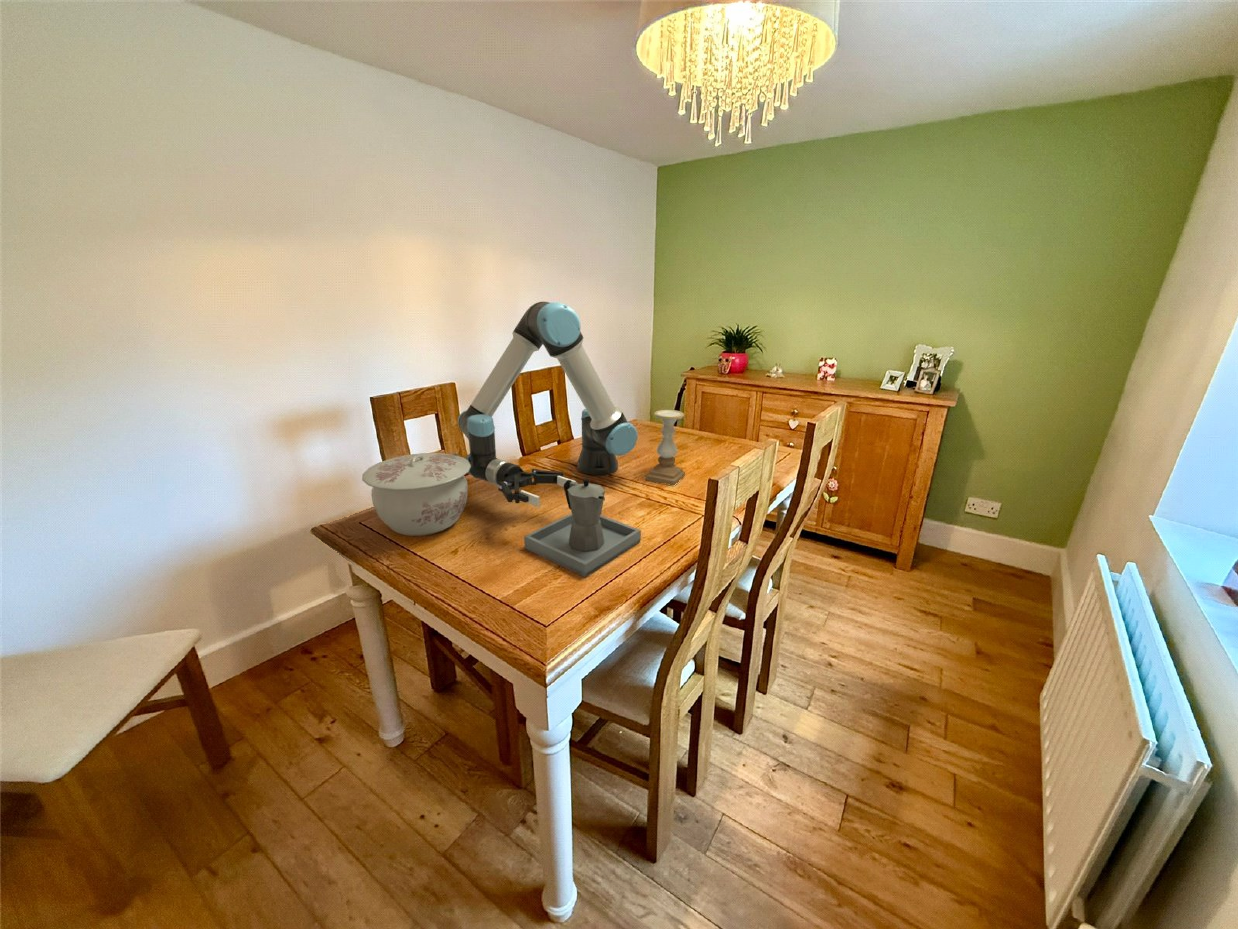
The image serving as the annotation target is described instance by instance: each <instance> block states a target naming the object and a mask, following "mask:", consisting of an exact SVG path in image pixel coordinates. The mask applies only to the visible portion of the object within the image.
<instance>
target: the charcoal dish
mask: <svg viewBox="0 0 1238 929" xmlns="http://www.w3.org/2000/svg"><path fill="white" fill-rule="evenodd" d="M599 519H600V521H601V526H602V532H603V537H604V543H603V545H602V546H601V547H600V548H599V549H597V550H594V551H578V550H575V549H573V548H572V547H571V545H570V543H569V537H570V531H571V525H572V521H573V515H572V512H571V513H569V514H567V515H565V516H563V517H561V518H559V519H556V520H554V521H552V522H551V523H549V524H547V525H544V526H543V527H541V528H539V529H536V530H534V531H532V532H531V533H528V534H526V535H524V537H523V541H524V549H526V550H527V551H530V553H534V554H536V555H537V556H540V557H542V558H544V559H546V560H548V561H550V562H551V563H552V562H553V563H554V564H556V565H558V566H560V567H563V568H565V569H566V570H569V571H571V572H572V573H575V574H577V575H579V576H581V577H583V578H587V577H589V576H590V575H592V574H593V573H595V572H596V571H598V570H599V569H601V568H603V567H604V566H605V565H607V564H609V563H610V562H612V561H613V560H615V559H616V558H618V557H620V556H621V555H622V554H624V553H626V552H627V551H629V550H631V548H634V547H635V546H636V545H638V544H639V542H640V541H642V540H641V538H642V530H641V529H639V528H636V527H635V526H632V525H628V524H625V523H623V522H620V521H618V520H614V519H612V518H609V517H607V516H604V515H602V514H601V515H600V516H599ZM640 543H641V542H640ZM625 551H626V552H625ZM619 555H620V556H619Z"/></svg>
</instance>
